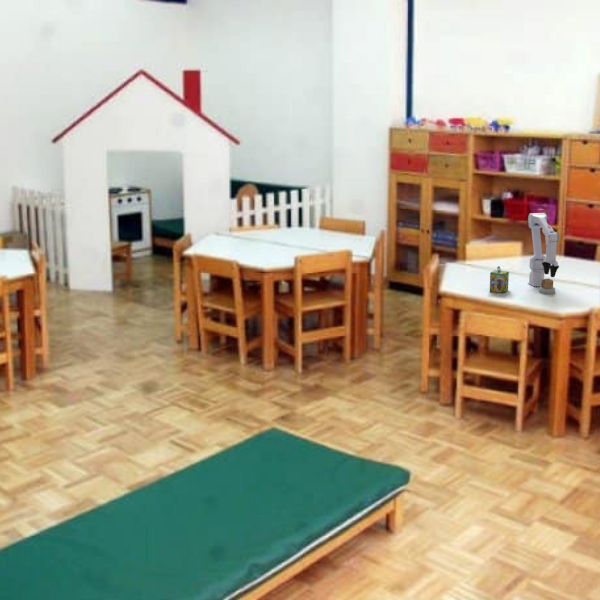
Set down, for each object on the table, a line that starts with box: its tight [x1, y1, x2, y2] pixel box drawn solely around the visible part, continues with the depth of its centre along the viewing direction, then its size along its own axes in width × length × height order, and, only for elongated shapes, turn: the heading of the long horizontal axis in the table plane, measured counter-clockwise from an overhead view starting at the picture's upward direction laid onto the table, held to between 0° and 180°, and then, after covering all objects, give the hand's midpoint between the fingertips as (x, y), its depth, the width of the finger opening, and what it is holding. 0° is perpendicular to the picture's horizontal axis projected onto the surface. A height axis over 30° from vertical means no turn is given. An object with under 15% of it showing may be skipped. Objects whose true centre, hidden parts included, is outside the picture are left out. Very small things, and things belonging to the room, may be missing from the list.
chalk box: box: [489, 265, 510, 294], centre depth 522 cm, size 9×9×15 cm
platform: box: [538, 286, 556, 295], centre depth 519 cm, size 9×9×3 cm
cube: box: [540, 278, 554, 289], centre depth 518 cm, size 5×5×5 cm
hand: (549, 275), depth 518 cm, fingers open, 7 cm apart
